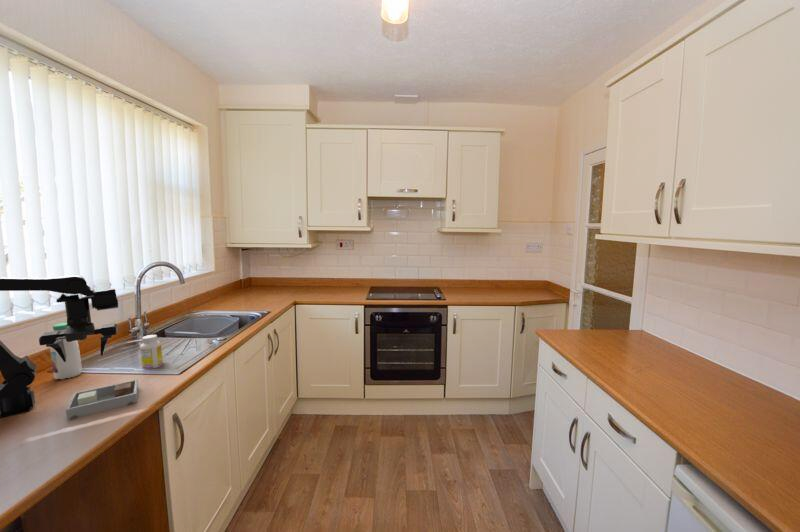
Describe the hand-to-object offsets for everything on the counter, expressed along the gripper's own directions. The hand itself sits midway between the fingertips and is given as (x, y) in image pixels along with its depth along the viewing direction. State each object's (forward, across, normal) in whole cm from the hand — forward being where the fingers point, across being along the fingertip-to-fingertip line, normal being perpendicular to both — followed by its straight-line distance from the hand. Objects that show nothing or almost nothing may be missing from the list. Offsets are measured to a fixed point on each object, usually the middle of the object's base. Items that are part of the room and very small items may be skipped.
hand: (84, 358), depth 115 cm
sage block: (+11, +2, -15) cm, 19 cm away
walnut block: (+11, +11, -14) cm, 21 cm away
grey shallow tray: (+12, +6, -14) cm, 20 cm away
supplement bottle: (+12, +18, +12) cm, 25 cm away
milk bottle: (+12, -9, +21) cm, 26 cm away
